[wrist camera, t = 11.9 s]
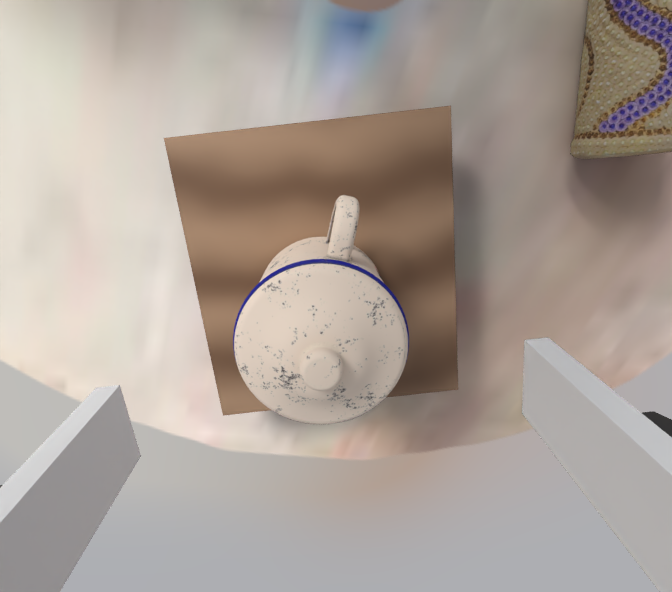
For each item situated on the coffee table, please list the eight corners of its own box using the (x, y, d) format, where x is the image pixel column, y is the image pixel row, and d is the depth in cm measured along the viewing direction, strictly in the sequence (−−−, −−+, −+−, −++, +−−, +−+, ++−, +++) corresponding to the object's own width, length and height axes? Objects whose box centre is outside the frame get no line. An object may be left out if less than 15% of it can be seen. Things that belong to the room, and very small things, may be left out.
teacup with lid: (369, 365, 32) (394, 473, 21) (247, 343, 31) (206, 443, 20) (411, 204, 29) (467, 231, 18) (275, 174, 28) (245, 184, 17)
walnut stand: (191, 141, 33) (163, 138, 27) (428, 114, 33) (450, 105, 27) (237, 377, 39) (223, 415, 33) (438, 355, 39) (457, 389, 33)
